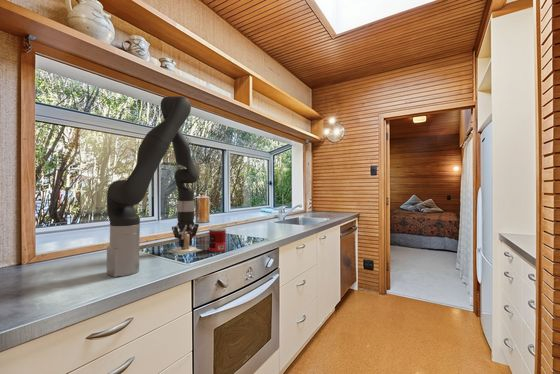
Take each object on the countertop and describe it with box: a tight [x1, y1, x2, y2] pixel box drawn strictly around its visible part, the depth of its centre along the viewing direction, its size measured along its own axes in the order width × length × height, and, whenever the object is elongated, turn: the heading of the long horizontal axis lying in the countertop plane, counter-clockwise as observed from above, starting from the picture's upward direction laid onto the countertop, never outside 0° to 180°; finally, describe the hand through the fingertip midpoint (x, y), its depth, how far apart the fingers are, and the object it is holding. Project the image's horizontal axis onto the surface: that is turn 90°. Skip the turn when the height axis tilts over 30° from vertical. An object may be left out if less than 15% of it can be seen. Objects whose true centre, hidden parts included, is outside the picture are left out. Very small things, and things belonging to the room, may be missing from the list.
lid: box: [173, 232, 197, 254], centre depth 122 cm, size 10×10×8 cm
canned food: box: [208, 227, 227, 253], centre depth 124 cm, size 8×8×11 cm
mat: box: [168, 248, 202, 256], centre depth 122 cm, size 12×10×1 cm
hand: (185, 246), depth 122 cm, fingers closed on lid, 3 cm apart
